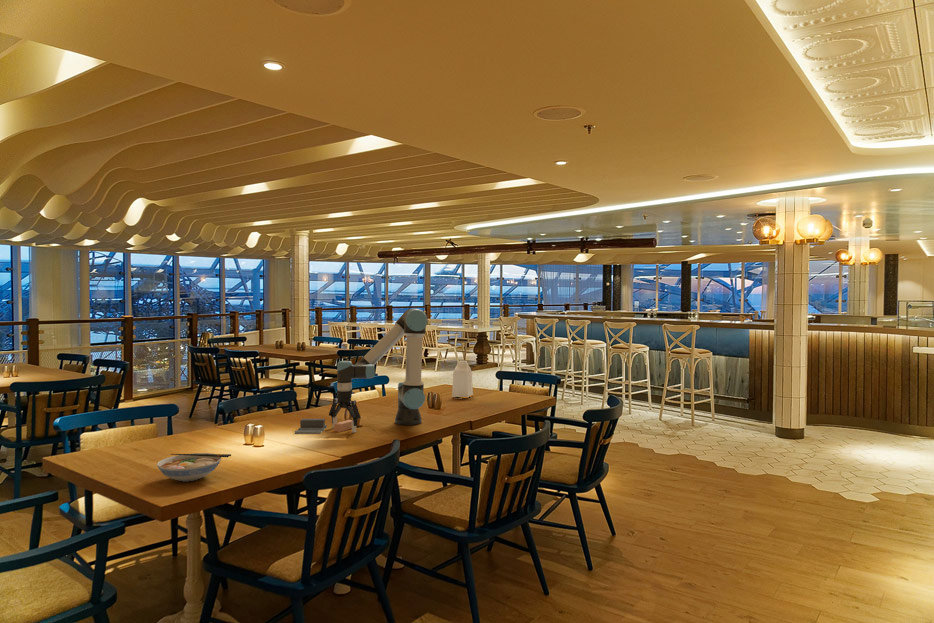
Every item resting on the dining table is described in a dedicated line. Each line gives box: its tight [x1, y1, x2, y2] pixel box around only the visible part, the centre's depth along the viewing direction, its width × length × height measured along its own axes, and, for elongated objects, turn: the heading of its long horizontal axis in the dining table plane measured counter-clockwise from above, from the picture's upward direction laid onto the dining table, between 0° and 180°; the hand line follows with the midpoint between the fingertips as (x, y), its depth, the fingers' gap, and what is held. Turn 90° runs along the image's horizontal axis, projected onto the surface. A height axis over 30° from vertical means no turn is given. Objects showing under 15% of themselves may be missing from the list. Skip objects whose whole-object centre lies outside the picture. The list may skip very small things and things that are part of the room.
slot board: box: [294, 424, 328, 435], centre depth 311 cm, size 13×16×2 cm
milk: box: [451, 360, 474, 398], centre depth 425 cm, size 12×12×26 cm
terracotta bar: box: [333, 419, 353, 433], centre depth 314 cm, size 12×4×5 cm, turn 151°
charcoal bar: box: [299, 418, 326, 429], centre depth 315 cm, size 12×4×5 cm, turn 91°
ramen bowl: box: [156, 452, 232, 483], centre depth 229 cm, size 25×23×8 cm
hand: (344, 430), depth 314 cm, fingers open, 12 cm apart
